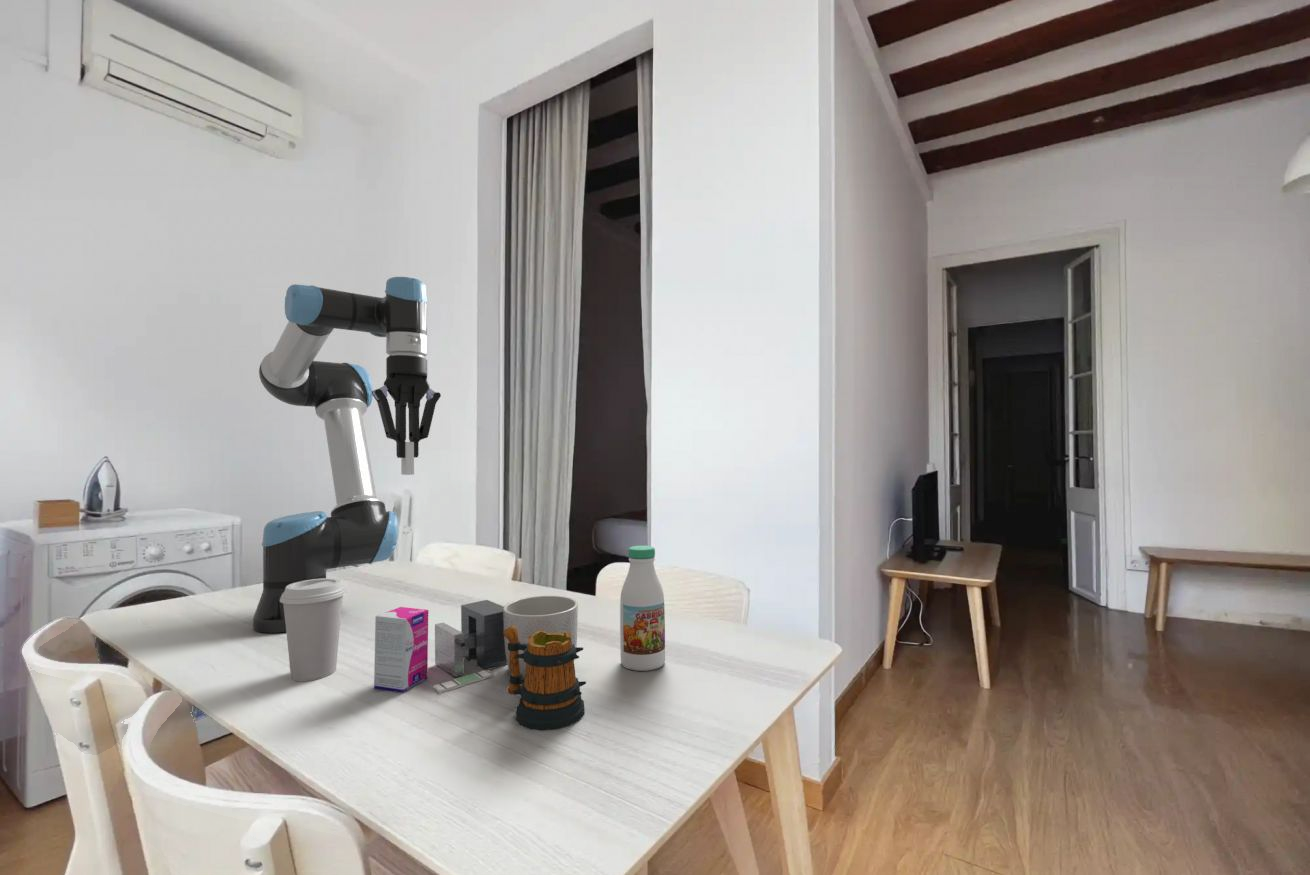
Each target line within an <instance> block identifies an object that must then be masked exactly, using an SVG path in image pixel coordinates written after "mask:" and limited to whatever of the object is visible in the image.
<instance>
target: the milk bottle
mask: <svg viewBox="0 0 1310 875" xmlns="http://www.w3.org/2000/svg"><path fill="white" fill-rule="evenodd" d="M627 551H628V552H627V553H628V561H629V566H628V567H629V568H628V572H627V574H626V577H625V580H624V582H623V585H622V587H621V590H620V591H621V592H620V601H619V602H620V604H619V608H620V609H619V614H620V615H619V616H620V617H619V618H620V619H619V622H620V623H619V625H620V626H619V627H620V628H619V629H620V630H619V631H620V634H619V636H620V639H619V640H620V643H619V644H620V662H621V665H622V666H623V667H624V668H625V669H628V670H631V671H636V672H639V671H640V672H643V671H653V670H657V669H659V668H661V667H662V666H664V664H665V663H666V662H665V661H666V621H665V619H666V618H665V617H666V616H665V614H666V612H665V595H664V590H663V586H662V583H661V581H660V579H659V577H658V574H657V571H656V568H655V561H656V557H655V556H656V548H655V547H654V546H651V545H634V546H633V545H632V546H630V547H629V548H628V550H627Z"/></svg>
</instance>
